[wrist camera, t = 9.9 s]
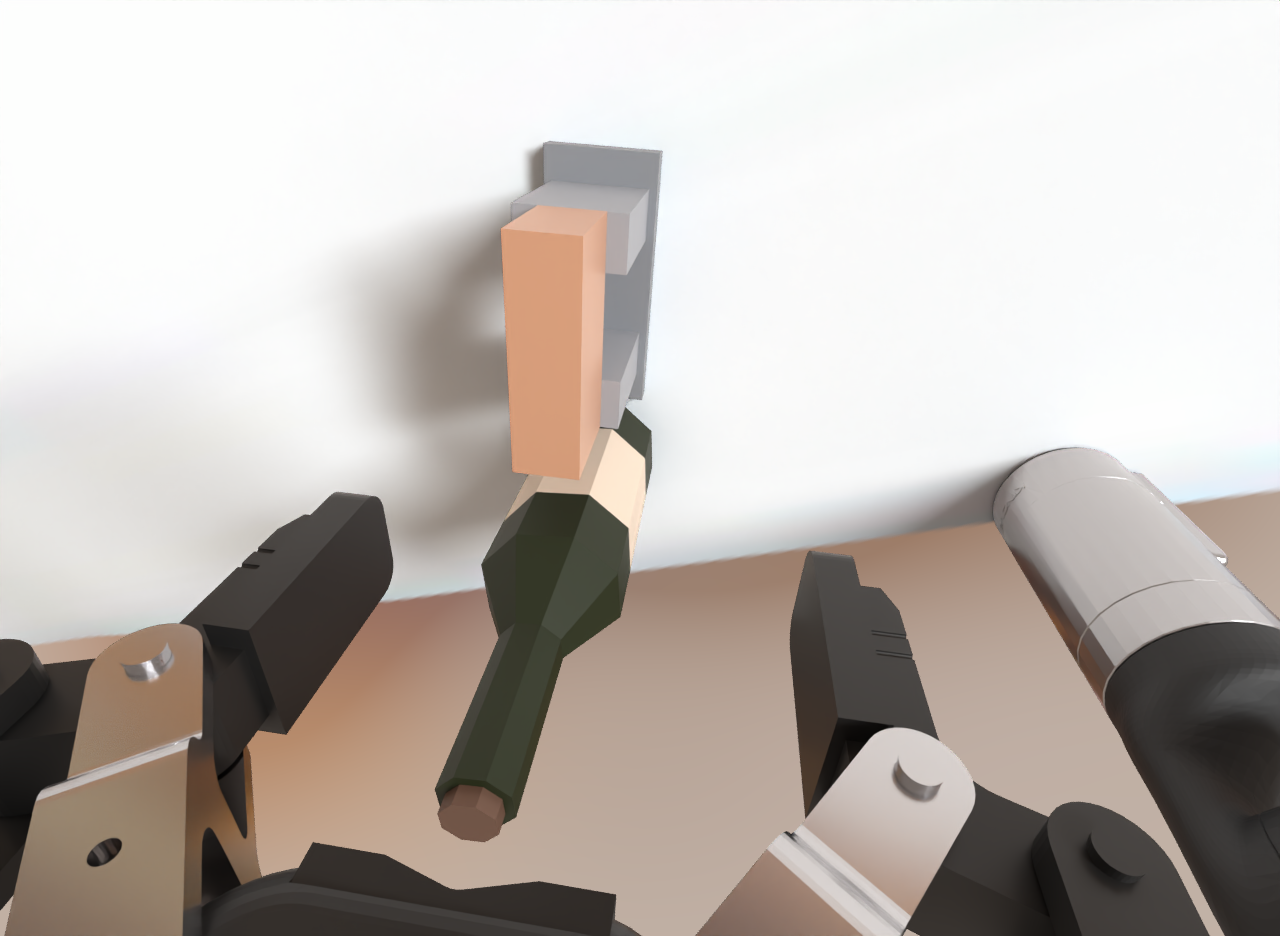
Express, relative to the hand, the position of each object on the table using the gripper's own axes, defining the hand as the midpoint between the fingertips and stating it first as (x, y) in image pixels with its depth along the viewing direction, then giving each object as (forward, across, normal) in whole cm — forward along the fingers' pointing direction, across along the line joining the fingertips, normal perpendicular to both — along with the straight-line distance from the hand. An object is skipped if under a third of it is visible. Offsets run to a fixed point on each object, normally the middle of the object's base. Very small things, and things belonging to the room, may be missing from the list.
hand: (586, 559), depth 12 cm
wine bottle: (+34, +6, +17) cm, 39 cm away
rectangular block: (+24, +6, +4) cm, 25 cm away
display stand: (+34, +6, +4) cm, 35 cm away
